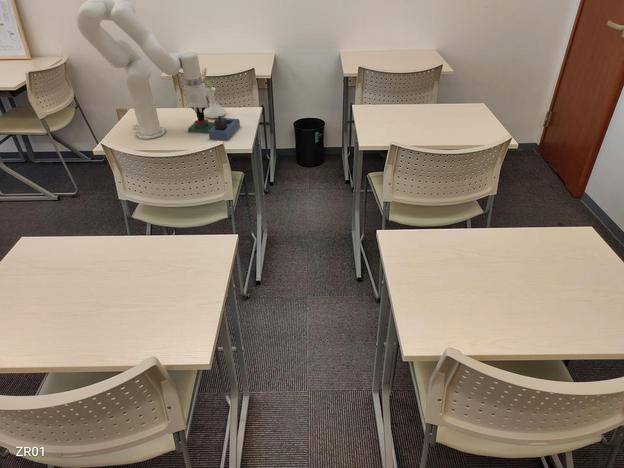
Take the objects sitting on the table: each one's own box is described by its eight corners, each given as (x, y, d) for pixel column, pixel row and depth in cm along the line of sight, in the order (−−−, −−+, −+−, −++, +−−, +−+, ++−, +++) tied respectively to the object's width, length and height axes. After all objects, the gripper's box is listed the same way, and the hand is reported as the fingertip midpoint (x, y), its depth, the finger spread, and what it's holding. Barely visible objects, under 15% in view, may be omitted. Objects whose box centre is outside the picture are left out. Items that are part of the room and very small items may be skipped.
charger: (216, 137, 220) (213, 117, 215) (220, 134, 223) (216, 114, 218) (225, 138, 219) (221, 118, 214) (228, 134, 223) (225, 114, 217)
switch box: (188, 132, 227) (187, 125, 225) (196, 124, 234) (195, 117, 232) (208, 133, 225) (206, 126, 223) (215, 125, 232) (214, 118, 230)
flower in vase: (206, 111, 247) (197, 62, 232) (228, 111, 246) (220, 61, 231) (200, 122, 236) (190, 70, 221) (223, 121, 235) (215, 70, 221)
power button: (196, 124, 227) (195, 121, 226) (199, 121, 230) (198, 118, 228) (203, 125, 226) (202, 121, 225) (206, 122, 229) (205, 118, 228)
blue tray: (209, 139, 219) (208, 131, 217) (223, 125, 231) (221, 117, 229) (227, 140, 217) (226, 132, 215) (240, 126, 229) (239, 118, 227)
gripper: (174, 83, 215) (183, 122, 225) (205, 84, 211) (212, 123, 222) (182, 78, 221) (190, 116, 231) (212, 78, 217) (219, 117, 228)
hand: (201, 119), depth 227 cm, fingers closed
